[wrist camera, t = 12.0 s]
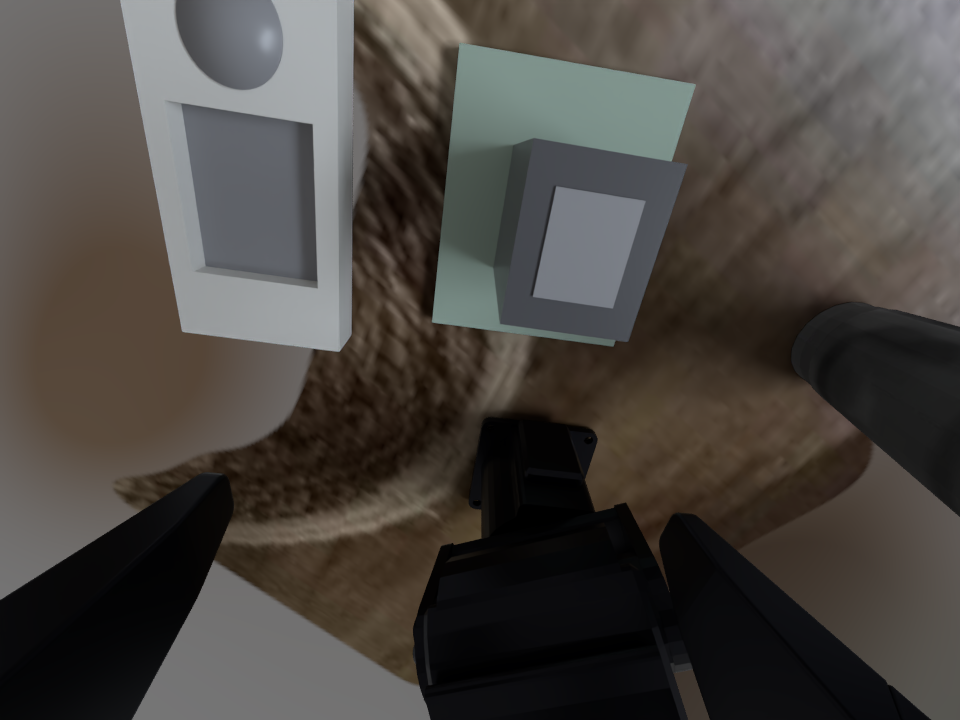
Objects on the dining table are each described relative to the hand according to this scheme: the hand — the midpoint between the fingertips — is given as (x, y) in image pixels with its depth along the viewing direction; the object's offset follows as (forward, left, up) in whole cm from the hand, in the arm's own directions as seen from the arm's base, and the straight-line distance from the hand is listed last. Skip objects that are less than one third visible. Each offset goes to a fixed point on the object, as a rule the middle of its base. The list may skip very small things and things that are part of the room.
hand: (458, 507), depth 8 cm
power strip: (+7, +9, -13) cm, 18 cm away
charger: (+4, -3, -13) cm, 13 cm away
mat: (+4, -3, -13) cm, 14 cm away
